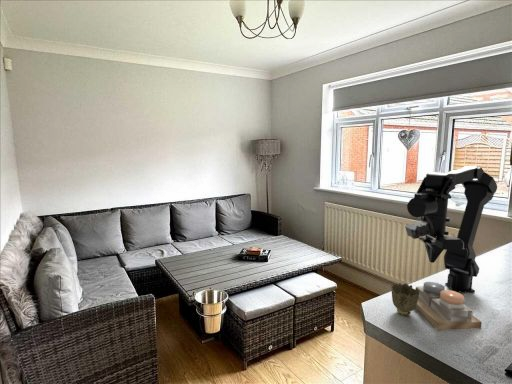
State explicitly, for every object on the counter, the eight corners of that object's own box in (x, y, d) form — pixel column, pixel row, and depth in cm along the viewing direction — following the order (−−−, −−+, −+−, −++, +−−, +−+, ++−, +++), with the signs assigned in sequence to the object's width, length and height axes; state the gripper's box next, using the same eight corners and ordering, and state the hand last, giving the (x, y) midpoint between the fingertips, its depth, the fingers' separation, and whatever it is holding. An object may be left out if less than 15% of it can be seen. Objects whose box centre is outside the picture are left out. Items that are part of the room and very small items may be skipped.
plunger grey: (436, 294, 97) (437, 281, 96) (447, 303, 92) (449, 289, 91) (418, 295, 97) (419, 281, 96) (429, 303, 91) (430, 290, 91)
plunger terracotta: (453, 304, 89) (454, 289, 88) (467, 314, 83) (469, 299, 83) (434, 304, 89) (436, 290, 88) (447, 315, 83) (449, 299, 83)
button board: (442, 299, 99) (444, 285, 98) (480, 328, 83) (482, 311, 82) (406, 300, 98) (407, 285, 98) (437, 330, 82) (439, 312, 82)
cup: (384, 309, 93) (385, 284, 92) (402, 305, 95) (404, 281, 94) (403, 322, 86) (405, 296, 85) (423, 317, 88) (425, 291, 87)
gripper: (395, 208, 103) (392, 252, 105) (428, 221, 84) (424, 274, 87) (427, 207, 103) (424, 252, 106) (467, 220, 85) (462, 274, 87)
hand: (431, 262), depth 96 cm, fingers closed
